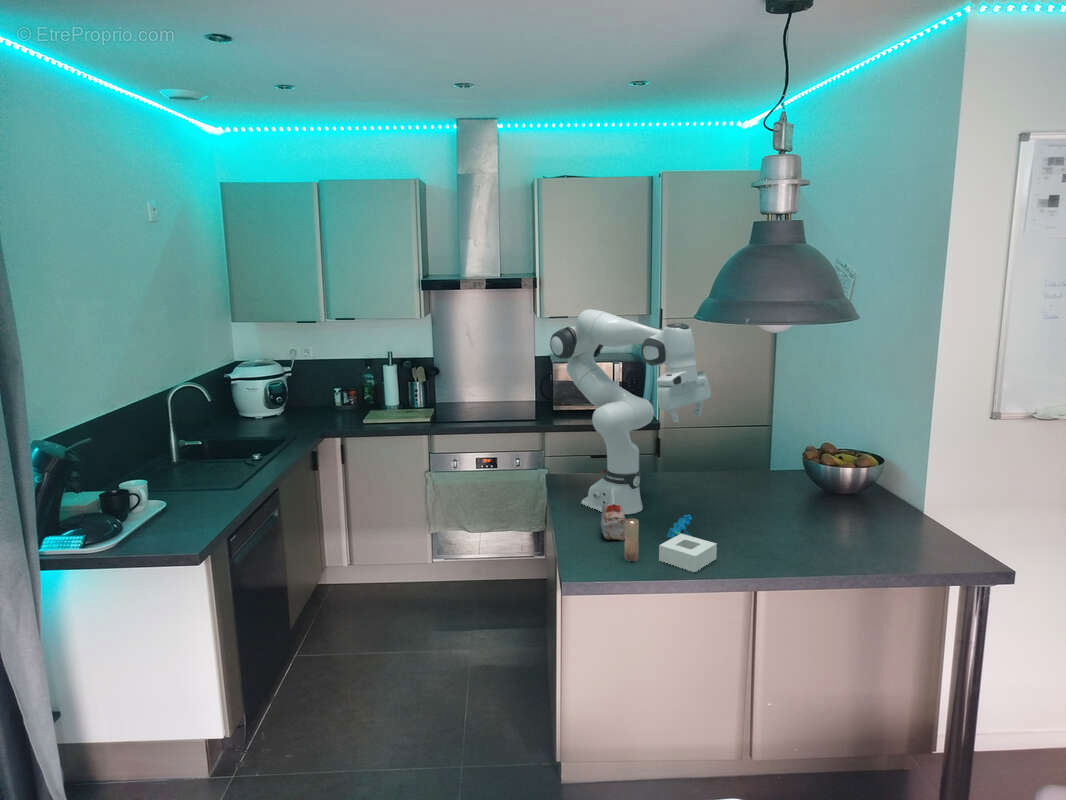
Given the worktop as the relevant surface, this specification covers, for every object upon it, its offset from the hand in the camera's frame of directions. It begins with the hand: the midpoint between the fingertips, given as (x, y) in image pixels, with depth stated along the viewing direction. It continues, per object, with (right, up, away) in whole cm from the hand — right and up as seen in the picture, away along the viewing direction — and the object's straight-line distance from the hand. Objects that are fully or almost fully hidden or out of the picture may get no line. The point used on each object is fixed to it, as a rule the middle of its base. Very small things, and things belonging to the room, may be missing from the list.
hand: (687, 418), depth 224 cm
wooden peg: (-19, -41, -12) cm, 47 cm away
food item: (-23, -38, +7) cm, 44 cm away
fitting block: (-3, -41, -14) cm, 44 cm away
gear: (-2, -38, +3) cm, 38 cm away
